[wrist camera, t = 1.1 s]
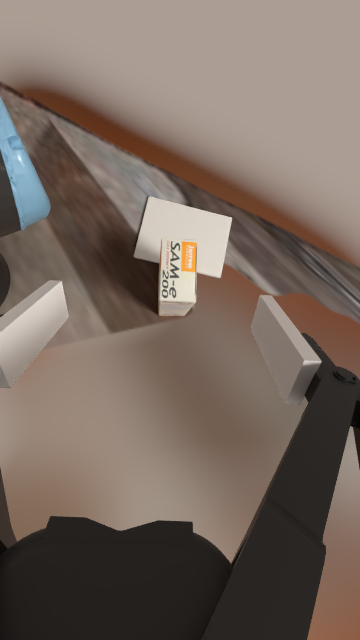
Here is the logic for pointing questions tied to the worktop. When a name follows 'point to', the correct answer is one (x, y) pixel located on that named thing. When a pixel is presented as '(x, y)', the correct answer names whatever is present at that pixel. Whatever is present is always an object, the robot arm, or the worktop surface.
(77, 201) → the worktop surface
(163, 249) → the supplement box
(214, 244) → the mat
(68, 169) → the worktop surface
